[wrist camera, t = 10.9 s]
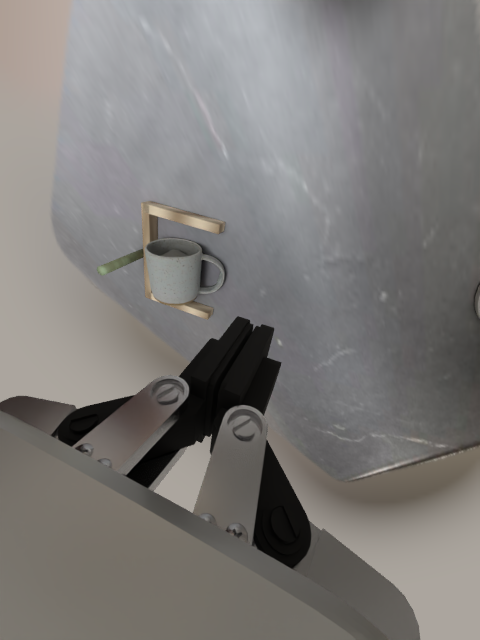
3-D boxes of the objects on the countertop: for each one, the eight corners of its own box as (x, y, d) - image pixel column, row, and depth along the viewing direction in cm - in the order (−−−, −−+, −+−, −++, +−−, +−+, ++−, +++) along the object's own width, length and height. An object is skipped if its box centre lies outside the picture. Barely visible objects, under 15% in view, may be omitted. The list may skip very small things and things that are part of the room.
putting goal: (225, 222, 34) (189, 239, 26) (212, 313, 43) (182, 347, 35) (143, 199, 37) (87, 208, 29) (146, 290, 45) (104, 317, 37)
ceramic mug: (168, 282, 43) (139, 302, 37) (165, 234, 38) (132, 247, 32) (225, 297, 41) (205, 321, 35) (229, 248, 36) (207, 264, 30)
